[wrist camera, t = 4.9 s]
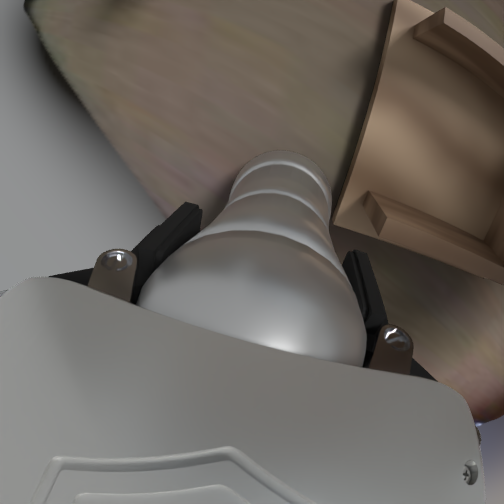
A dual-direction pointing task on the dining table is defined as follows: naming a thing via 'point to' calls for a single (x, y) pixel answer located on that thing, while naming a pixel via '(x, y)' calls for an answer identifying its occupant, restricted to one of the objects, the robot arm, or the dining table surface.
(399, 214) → the brown tray
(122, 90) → the dining table surface
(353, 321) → the silver bottle
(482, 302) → the dining table surface
